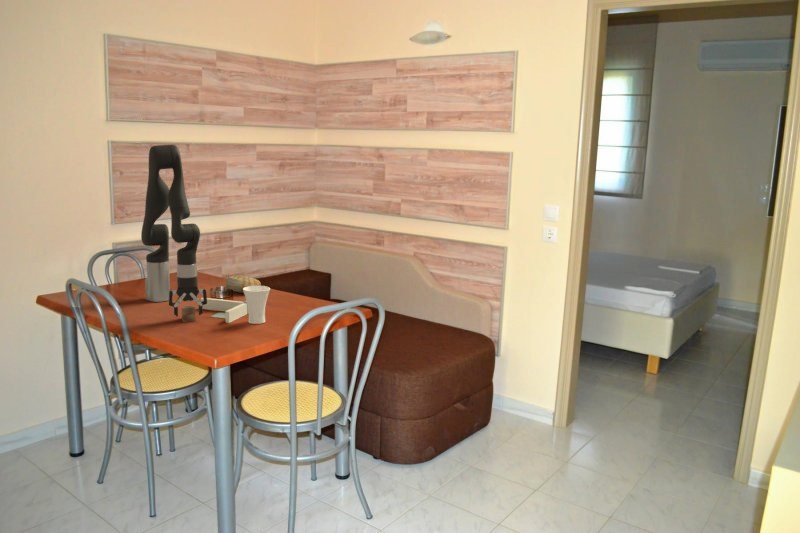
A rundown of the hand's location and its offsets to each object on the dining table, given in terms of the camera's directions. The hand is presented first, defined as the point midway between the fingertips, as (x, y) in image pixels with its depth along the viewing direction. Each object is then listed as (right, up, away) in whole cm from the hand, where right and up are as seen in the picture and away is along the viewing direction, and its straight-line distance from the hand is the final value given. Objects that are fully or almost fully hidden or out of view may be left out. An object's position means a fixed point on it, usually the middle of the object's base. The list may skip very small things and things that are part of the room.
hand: (188, 315), depth 260 cm
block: (0, -2, +1) cm, 2 cm away
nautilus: (+8, +8, +51) cm, 53 cm away
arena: (+8, -1, +8) cm, 11 cm away
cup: (+27, -3, 0) cm, 27 cm away
